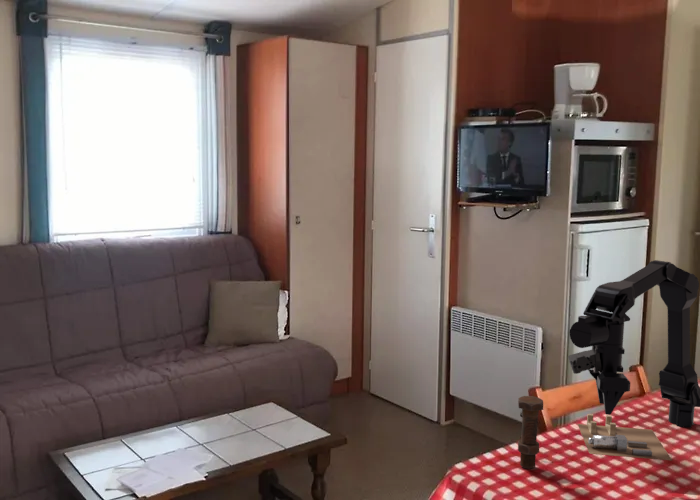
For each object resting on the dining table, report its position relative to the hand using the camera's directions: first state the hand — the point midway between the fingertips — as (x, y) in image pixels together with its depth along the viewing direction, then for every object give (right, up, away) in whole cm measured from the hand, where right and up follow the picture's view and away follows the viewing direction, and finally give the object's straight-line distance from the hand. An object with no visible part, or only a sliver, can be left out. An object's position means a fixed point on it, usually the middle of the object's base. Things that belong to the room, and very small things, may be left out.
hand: (604, 408), depth 159 cm
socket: (+8, -9, 0) cm, 12 cm away
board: (+6, -10, +5) cm, 12 cm away
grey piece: (+1, -9, +1) cm, 9 cm away
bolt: (-19, -11, -7) cm, 24 cm away
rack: (+3, -8, +12) cm, 14 cm away
